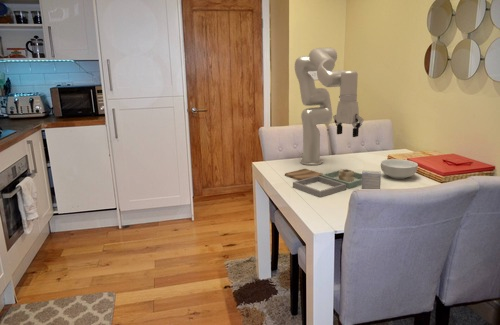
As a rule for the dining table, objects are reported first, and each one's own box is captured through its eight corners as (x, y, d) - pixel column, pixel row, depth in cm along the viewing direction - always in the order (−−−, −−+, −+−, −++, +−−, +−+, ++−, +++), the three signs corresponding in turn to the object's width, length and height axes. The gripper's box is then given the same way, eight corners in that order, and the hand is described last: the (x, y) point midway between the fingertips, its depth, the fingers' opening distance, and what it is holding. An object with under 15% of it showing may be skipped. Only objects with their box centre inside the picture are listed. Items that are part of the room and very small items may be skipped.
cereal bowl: (399, 184, 172) (400, 169, 171) (372, 175, 187) (373, 161, 185) (424, 177, 180) (425, 163, 178) (396, 170, 194) (397, 157, 192)
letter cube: (338, 180, 181) (338, 170, 180) (345, 178, 184) (345, 168, 182) (346, 183, 177) (346, 172, 176) (353, 181, 180) (353, 170, 178)
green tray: (320, 179, 183) (320, 174, 183) (343, 173, 192) (343, 168, 191) (349, 188, 169) (349, 183, 168) (372, 181, 177) (372, 176, 177)
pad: (284, 175, 192) (284, 173, 192) (305, 170, 200) (305, 168, 199) (303, 181, 181) (303, 179, 180) (323, 176, 188) (323, 174, 188)
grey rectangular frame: (292, 187, 174) (292, 182, 173) (317, 180, 182) (317, 175, 181) (320, 197, 159) (320, 191, 158) (346, 189, 168) (346, 184, 167)
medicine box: (380, 189, 166) (381, 171, 163) (380, 193, 162) (381, 173, 159) (361, 188, 168) (362, 170, 166) (361, 191, 164) (361, 172, 162)
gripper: (328, 98, 175) (328, 134, 180) (357, 100, 161) (356, 138, 166) (339, 97, 179) (339, 132, 184) (369, 98, 165) (367, 136, 170)
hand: (347, 135), depth 175 cm, fingers open, 9 cm apart
